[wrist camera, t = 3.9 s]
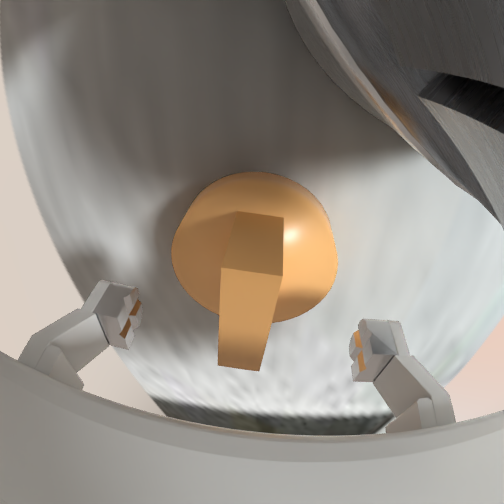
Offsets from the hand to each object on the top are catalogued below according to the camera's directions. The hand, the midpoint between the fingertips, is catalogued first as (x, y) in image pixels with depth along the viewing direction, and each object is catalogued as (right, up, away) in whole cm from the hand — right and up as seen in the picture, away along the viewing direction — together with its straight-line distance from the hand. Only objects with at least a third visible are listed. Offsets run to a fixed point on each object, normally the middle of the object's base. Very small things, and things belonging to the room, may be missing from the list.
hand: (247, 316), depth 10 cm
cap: (0, +3, +3) cm, 4 cm away
